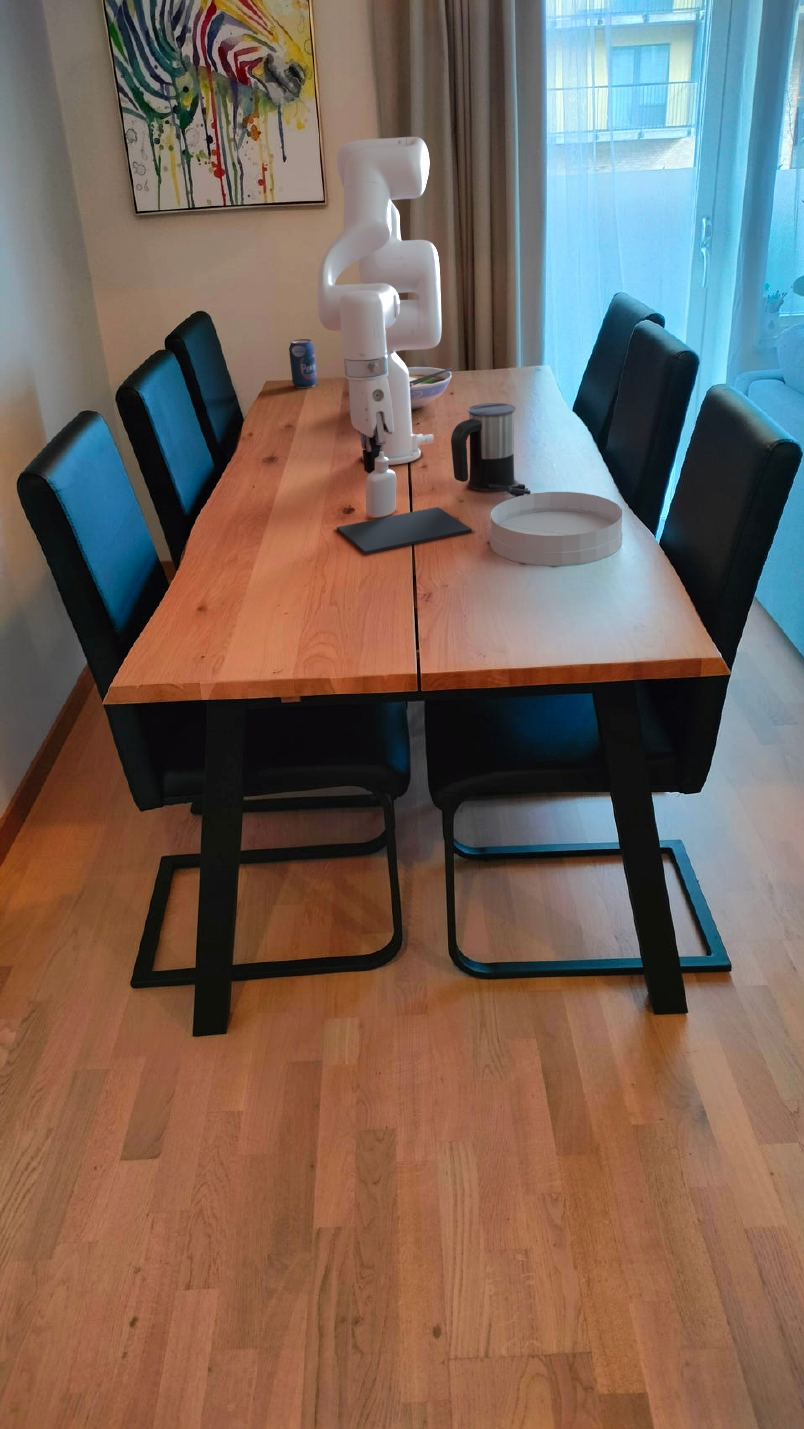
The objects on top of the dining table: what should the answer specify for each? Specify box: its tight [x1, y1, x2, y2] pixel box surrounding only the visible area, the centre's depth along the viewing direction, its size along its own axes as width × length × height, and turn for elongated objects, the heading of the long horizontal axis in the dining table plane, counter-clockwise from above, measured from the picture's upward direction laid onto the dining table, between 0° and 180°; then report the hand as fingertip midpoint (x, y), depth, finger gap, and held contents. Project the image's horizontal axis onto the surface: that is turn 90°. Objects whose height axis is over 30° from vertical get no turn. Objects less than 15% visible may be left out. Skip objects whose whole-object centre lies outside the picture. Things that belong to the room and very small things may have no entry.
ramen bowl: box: [407, 366, 457, 411], centre depth 258 cm, size 25×23×8 cm
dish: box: [489, 491, 624, 567], centre depth 172 cm, size 22×22×5 cm
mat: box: [336, 506, 473, 556], centre depth 182 cm, size 20×14×1 cm
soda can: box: [288, 338, 318, 389], centre depth 285 cm, size 7×7×12 cm
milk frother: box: [450, 402, 531, 497], centre depth 195 cm, size 14×16×15 cm
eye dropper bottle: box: [365, 451, 397, 519], centre depth 187 cm, size 4×6×12 cm
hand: (373, 471), depth 188 cm, fingers closed
